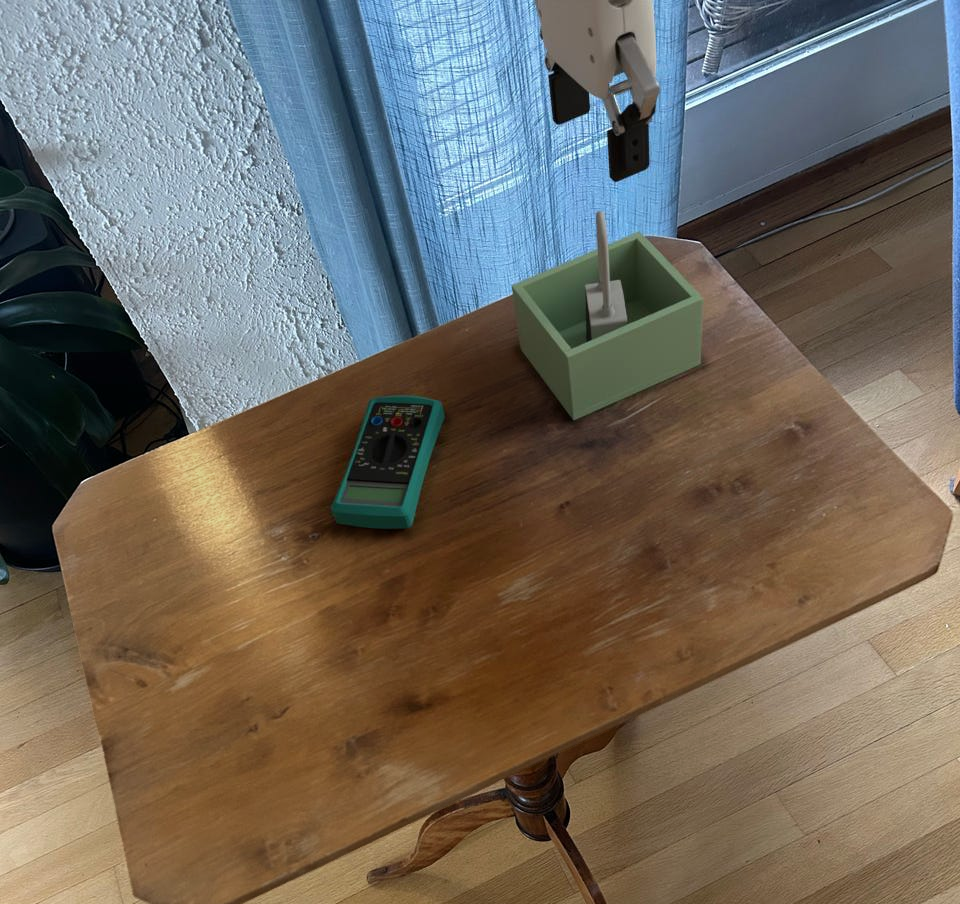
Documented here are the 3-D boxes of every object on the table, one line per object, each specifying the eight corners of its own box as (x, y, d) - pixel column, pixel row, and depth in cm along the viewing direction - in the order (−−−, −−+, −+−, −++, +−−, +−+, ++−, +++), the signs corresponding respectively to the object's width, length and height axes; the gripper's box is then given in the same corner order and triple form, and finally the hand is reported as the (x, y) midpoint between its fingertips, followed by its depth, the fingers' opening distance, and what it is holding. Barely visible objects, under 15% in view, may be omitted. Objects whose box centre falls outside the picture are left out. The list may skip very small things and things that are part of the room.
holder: (700, 364, 98) (703, 298, 91) (573, 421, 96) (567, 357, 90) (640, 297, 104) (639, 230, 97) (520, 349, 102) (511, 285, 96)
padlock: (634, 372, 97) (630, 235, 85) (590, 378, 98) (579, 243, 85) (626, 325, 101) (621, 187, 88) (583, 331, 101) (572, 195, 89)
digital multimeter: (448, 413, 99) (442, 391, 97) (412, 534, 92) (405, 513, 89) (376, 410, 101) (369, 388, 98) (335, 529, 93) (326, 508, 91)
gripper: (703, -76, 63) (698, 179, 77) (574, -158, 73) (591, 82, 87) (594, -33, 62) (609, 217, 76) (479, -122, 72) (511, 114, 86)
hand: (599, 145), depth 81 cm, fingers open, 9 cm apart
